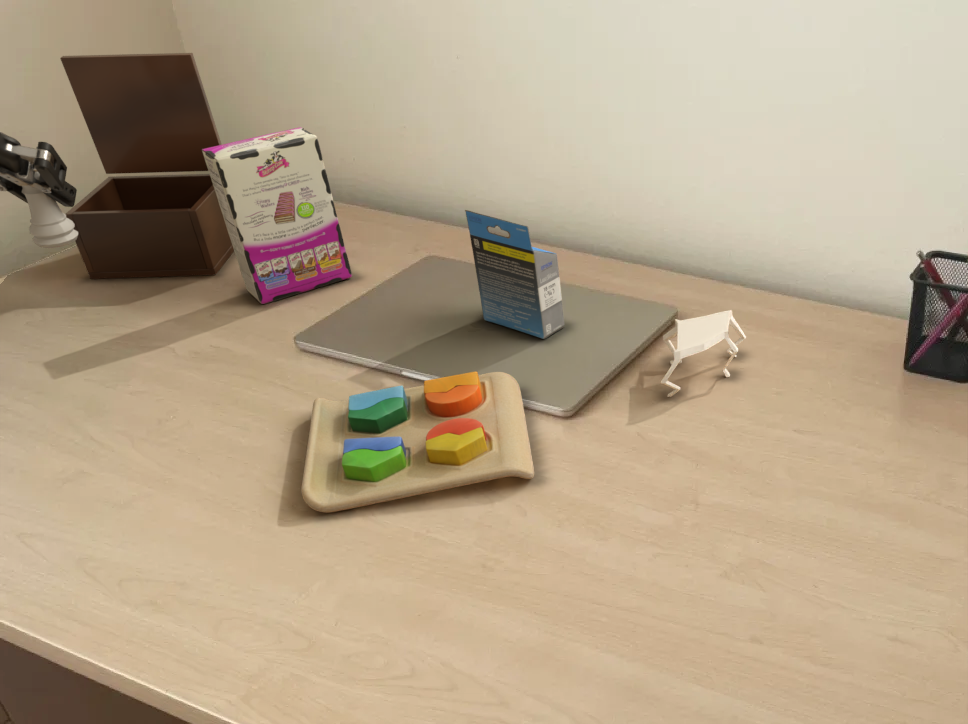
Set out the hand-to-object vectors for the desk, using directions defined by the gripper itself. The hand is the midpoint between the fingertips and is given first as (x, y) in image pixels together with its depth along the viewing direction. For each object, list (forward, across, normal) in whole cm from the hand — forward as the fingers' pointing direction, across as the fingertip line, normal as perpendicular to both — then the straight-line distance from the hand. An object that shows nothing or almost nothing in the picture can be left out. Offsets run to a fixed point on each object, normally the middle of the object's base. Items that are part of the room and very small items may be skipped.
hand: (54, 197), depth 112 cm
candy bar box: (+13, -21, +4) cm, 25 cm away
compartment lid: (+11, 0, -15) cm, 19 cm away
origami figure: (+1, -70, +15) cm, 71 cm away
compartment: (+18, -2, -1) cm, 18 cm away
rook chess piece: (+2, 0, +4) cm, 5 cm away
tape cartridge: (+8, -50, +8) cm, 51 cm away
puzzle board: (-9, -47, +26) cm, 55 cm away
